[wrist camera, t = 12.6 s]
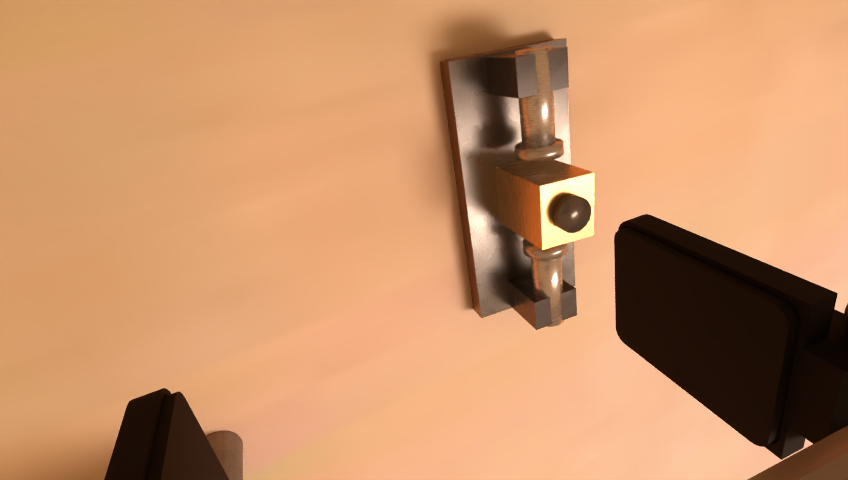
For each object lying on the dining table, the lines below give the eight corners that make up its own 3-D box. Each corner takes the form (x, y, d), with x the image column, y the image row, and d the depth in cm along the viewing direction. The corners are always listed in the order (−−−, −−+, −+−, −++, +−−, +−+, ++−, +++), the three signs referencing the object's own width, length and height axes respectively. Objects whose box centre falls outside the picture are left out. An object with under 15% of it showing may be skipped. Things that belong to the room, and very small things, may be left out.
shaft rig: (439, 61, 33) (478, 62, 27) (553, 39, 35) (610, 35, 30) (473, 309, 41) (508, 347, 35) (564, 278, 43) (610, 310, 38)
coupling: (495, 166, 35) (547, 189, 29) (542, 155, 36) (602, 175, 30) (499, 222, 37) (549, 254, 31) (544, 210, 38) (601, 239, 32)
